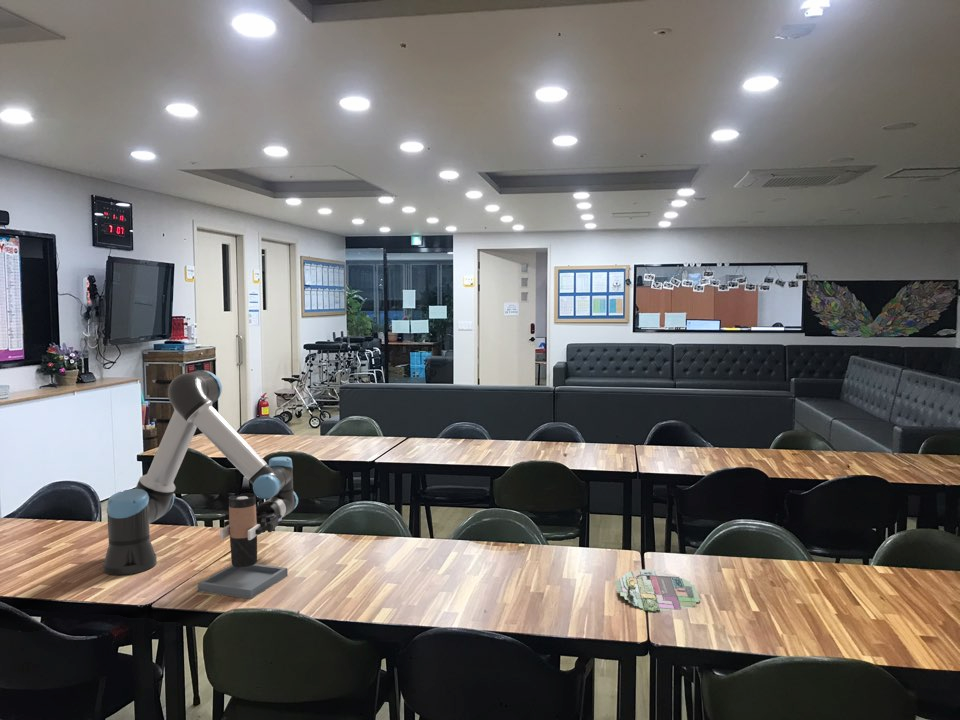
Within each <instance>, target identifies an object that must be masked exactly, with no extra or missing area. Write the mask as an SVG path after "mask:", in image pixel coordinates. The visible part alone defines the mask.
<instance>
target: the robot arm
mask: <svg viewBox="0 0 960 720" xmlns="http://www.w3.org/2000/svg"><path fill="white" fill-rule="evenodd" d="M222 387H223V386H222V383H221V381H220V378H219V377H218V376H217V375H216V374H214V373H213V372H212V371H208V370H202V369H200V370H199V369H198V370H195V371H193V372H187V373H186V372H185V373H182V374H179V375H177V376H175V377H174V378H173V379H172V381H171V382H170V384H169V386H168V389H167V395H168V399H169V402H170V404H171V406H172V408H173V409H174V411H173V413H172V415H171V418H170V419H169V422H168V424H167V427H166V428H165V432H164V434H163V436H162V439H161V441H160V443H159V445H158V447H157V450H156V452H155V455H154V457H153V459H152V462H151V464H150V467H149V469H148V471H147V473H146V474H144V475H142V476H140V477H139V479H138V482H137V484H136V486H135V488H132V489H125V490H123V491H118V492H116V493H114V494H112V495H110V497H109V498H108V500H107V503H106V505H107V507H106V513H107V536H108V537H107V538H108V547H107V551H106V552H105V559H104V561H103V563H102V564H103V566H102V569H103V573H105V574H107V575H112V576H123V575H124V576H127V575H133V574H137V573H141V572H145V571H147V570H150V569H152V568H154V567H156V565H157V563H158V561H157V554H156V552H155V550H154V547H153V544H152V542H151V535H150V534H151V533H150V532H151V531H150V525H151V524H152V523H154V522H155V521H157V520H159V519H161V518H162V517H163V516H166V515H167V513H168V512H169V511H170V510H171V509H172V507H173V505H174V501H175V495H174V493H175V491H176V485H175V483H174V481H175V478H176V477H177V474H178V472H179V469H180V468H181V465H182V463H183V460H184V458H185V456H186V453H187V451H188V449H189V447H190V444H191V443H192V440H193V437H194V435H195V433H196V430H197V429H199V431H200V432H201V433H202V434H203V435H204V436H205V437H206V438H207V439H208V440H209V441H210V442H211V443H212V444H213V445H214V446H215V447H216V448H217V449H218V450H219V452H221V454H222V455H223V456H224V457H225V458H227V460H228V461H229V462H230V463H231V464H232V465H233V466H234V467H235V468H236V469H237V470H238V471H239V472H240V473H241V474H242V475H243V476H244V477H245V478H246V479H247V480H248V482H249V483H250V484H251V485H252V490H253V491H252V492H253V494H254V495H255V497H258V498H259V499H261V500H265V501H264V502H261V503H260V504H259V505H258V506H257V505H256V520H257V525H256V526H254V527H253V528H251V529H250V530H248V540H251V539H253V538H254V537H256V536H257V537H258V536H260V535H261V534H262V533H263V534H264V533H266V532H268V533H272V532H273V531H274V530H276V528H277V527H278V525H280V524H282V522H283V520H282V518H284V517H286V515H289V514H291V513H292V512H293V511H294V510H295V509H296V507H297V506H298V504H299V497H298V495H297V493H296V492H295V491H294V476H293V475H294V474H293V470H294V469H293V468H294V467H293V460H292V458H291V457H289V456H274V457H272V458H270V459H269V460H268V463H267V462H266V460H264V459H263V457H262V456H261V455H259V453H258V452H256V450H255V449H254V448H253V447H252V446H251V445H250V444H249V443H248V442H247V441H246V440H245V439H244V437H243V436H241V435H240V433H239V432H238V431H237V430H236V429H235V428H234V427H233V426H232V425H231V424H230V423H229V422H228V421H227V420H226V419H225V417H223V416H222V414H220V413H219V412H218V410H217V409H215V408H214V407H213V404H214V403H215V402H217V401H218V399H220V397H221V395H222V391H223V388H222ZM228 537H230V527H229V519H227V520H226V521H224V522H223V528H221V529H220V540H224V539H226V538H228Z"/></svg>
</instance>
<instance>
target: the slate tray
mask: <svg viewBox="0 0 960 720" xmlns="http://www.w3.org/2000/svg"><path fill="white" fill-rule="evenodd" d="M288 573H289V572H288V567H282V566H274V565H265V564H260V563H256V564H254V565H251V566H248V567H234V566H232V564H230V565H229V566H226V567H224V568H223V569H221V570H219V571H217V572H215V573H214V574H212V575H210V576H209V577H208V576H207V577H206V578H204V579H203V580H200V581H199V582H197V592H199V593H205V594H206V593H207V594H214V595H220V596H228V597H234V598H241V599H249V600H252V599H254V598H255V597H257V596H258V595H260V594H261V593H263V592H265V591H266V590H268V589H270V588H271V587H272V586H275V585H277V583H279V582H280V581H282V580H283V579H285V578H287V577H289V575H288Z"/></svg>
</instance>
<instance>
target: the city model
mask: <svg viewBox="0 0 960 720" xmlns="http://www.w3.org/2000/svg"><path fill="white" fill-rule="evenodd" d="M615 586H616V592H617V593H620V594H619V595H620V597H623V598H624V600H625V601H628V603H629V604H631V605H633V606H634V607H638V608H640V609H642V611H644V612H645V611H646V612H650V613H656V612H665V611H674V610H682V609H683V610H685V609H690V608H691V609H693V607H695V608H696V607H697V608H698V606H697V603H700V601H701V599H700V596H699V593H698V591H697V588H696V585H695V584H691V581H689V580H687V579H684V578H683V577H682V578H681V577H680V576H679V575H677V574H674V573H673V574H672V573H669V572H666V571H663V570H655V569H638V570H630V571H626V574H625V573H624V574H623V575H622V576H621V577H619V578H618V579H615Z"/></svg>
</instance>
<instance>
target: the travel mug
mask: <svg viewBox="0 0 960 720" xmlns="http://www.w3.org/2000/svg"><path fill="white" fill-rule="evenodd" d="M256 502H257V501H256V495H255V493H245V492H244V493H240V494H239V495H236V496H234V495H231V496H229V497H228V516H229V517H228V520H229V527H230V535H229V541H230V542H229V544H230V556H231V558H230V559H231V565H232V566H234V567H248V566H251V565H254V564H258V535H257V536H256V537H254V538H253V539H251V540H248V530H250V529H251V528H253V527H254V526H256V525H257V520H256V507H257V504H256Z"/></svg>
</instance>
